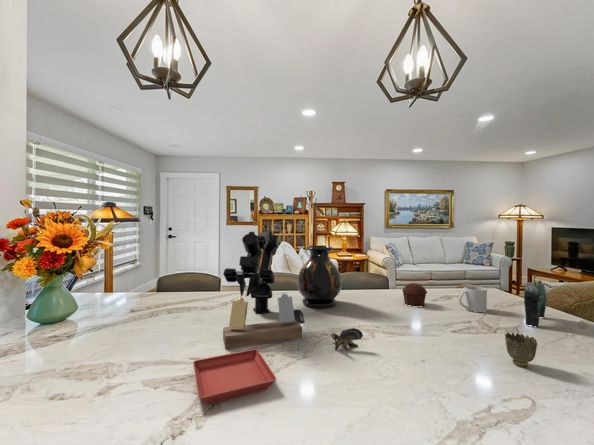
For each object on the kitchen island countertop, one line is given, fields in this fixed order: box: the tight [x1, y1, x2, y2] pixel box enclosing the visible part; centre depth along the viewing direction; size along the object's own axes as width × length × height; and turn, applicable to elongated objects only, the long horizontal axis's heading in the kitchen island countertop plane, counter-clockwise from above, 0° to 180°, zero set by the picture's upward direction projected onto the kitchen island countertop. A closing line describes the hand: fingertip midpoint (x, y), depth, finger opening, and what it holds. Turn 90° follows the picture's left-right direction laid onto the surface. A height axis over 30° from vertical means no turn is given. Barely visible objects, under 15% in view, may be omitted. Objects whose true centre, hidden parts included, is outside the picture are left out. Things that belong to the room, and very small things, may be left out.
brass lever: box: [228, 297, 249, 328], centre depth 100 cm, size 2×5×10 cm, turn 82°
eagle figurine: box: [330, 327, 364, 352], centre depth 94 cm, size 8×7×9 cm
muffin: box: [402, 282, 428, 307], centre depth 143 cm, size 12×11×10 cm
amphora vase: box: [296, 245, 343, 309], centre depth 143 cm, size 22×22×28 cm
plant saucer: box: [192, 348, 277, 405], centre depth 75 cm, size 18×18×3 cm
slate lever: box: [277, 293, 295, 323], centre depth 106 cm, size 2×5×10 cm, turn 109°
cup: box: [504, 332, 539, 368], centre depth 84 cm, size 8×7×8 cm
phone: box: [293, 309, 305, 324], centre depth 124 cm, size 8×1×15 cm
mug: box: [458, 285, 488, 313], centre depth 135 cm, size 11×10×10 cm
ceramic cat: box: [523, 273, 548, 328], centre depth 120 cm, size 20×6×20 cm, turn 131°
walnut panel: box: [222, 320, 303, 350], centre depth 101 cm, size 8×26×4 cm, turn 109°
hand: (244, 295), depth 106 cm, fingers closed
